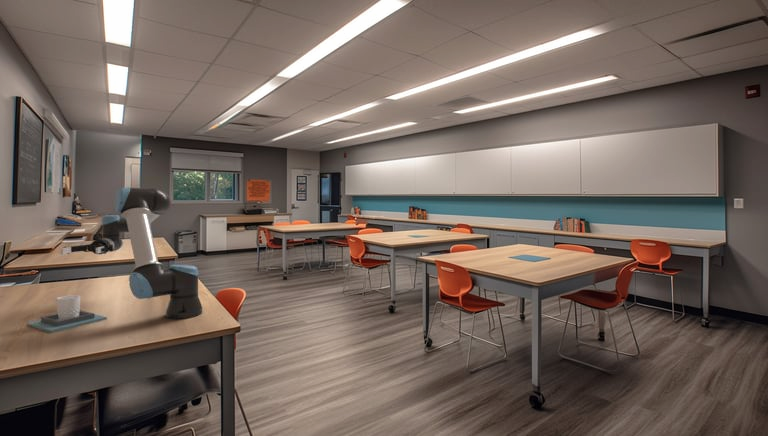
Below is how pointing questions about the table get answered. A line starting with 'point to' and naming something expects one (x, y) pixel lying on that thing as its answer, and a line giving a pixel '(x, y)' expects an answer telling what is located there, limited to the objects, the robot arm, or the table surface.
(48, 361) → the table surface
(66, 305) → the white cup
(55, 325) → the glass holder
